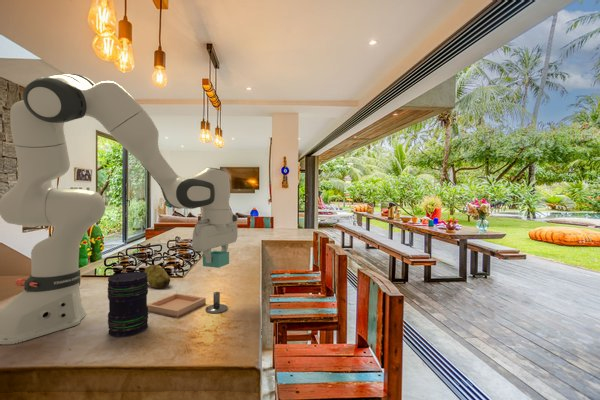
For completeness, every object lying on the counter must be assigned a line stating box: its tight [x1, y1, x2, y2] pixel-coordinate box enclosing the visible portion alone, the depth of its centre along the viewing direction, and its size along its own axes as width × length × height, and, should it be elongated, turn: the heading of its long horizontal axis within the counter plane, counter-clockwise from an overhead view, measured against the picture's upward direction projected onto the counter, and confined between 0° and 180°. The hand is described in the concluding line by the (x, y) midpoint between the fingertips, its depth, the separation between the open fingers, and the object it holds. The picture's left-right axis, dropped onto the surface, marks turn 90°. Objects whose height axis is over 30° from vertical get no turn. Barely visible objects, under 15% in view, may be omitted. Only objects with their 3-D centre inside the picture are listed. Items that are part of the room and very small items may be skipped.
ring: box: [202, 250, 230, 269], centre depth 104 cm, size 6×6×4 cm
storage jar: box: [107, 271, 149, 338], centre depth 88 cm, size 10×10×15 cm
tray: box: [147, 292, 207, 319], centre depth 105 cm, size 13×13×2 cm
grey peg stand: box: [205, 291, 229, 314], centre depth 103 cm, size 7×7×6 cm
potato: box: [143, 264, 171, 289], centre depth 128 cm, size 8×13×8 cm, turn 36°
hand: (216, 260), depth 104 cm, fingers closed on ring, 6 cm apart
